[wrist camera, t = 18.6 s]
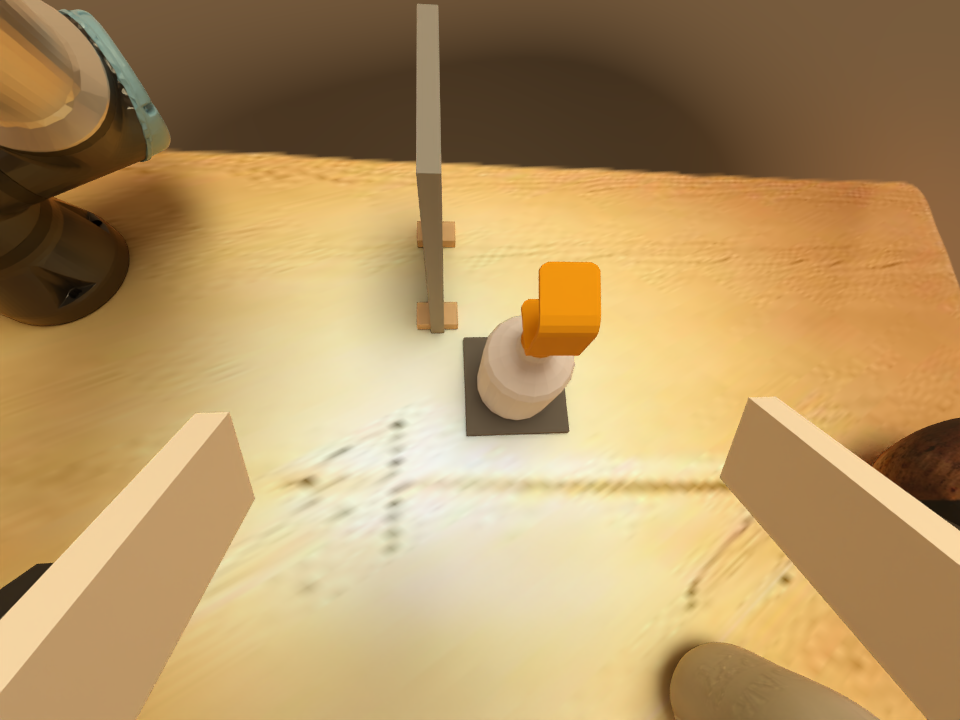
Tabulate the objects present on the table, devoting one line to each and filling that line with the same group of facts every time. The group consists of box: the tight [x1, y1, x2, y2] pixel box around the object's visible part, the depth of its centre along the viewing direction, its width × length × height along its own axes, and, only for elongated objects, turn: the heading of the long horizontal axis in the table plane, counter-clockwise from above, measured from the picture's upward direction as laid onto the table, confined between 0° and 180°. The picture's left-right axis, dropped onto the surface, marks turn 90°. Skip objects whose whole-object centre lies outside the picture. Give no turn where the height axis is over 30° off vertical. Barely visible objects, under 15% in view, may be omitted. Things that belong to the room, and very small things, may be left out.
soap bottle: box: [477, 262, 601, 420], centre depth 38 cm, size 9×9×25 cm
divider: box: [416, 4, 458, 333], centre depth 42 cm, size 5×16×27 cm, turn 2°
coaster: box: [463, 337, 569, 436], centre depth 50 cm, size 12×12×1 cm
